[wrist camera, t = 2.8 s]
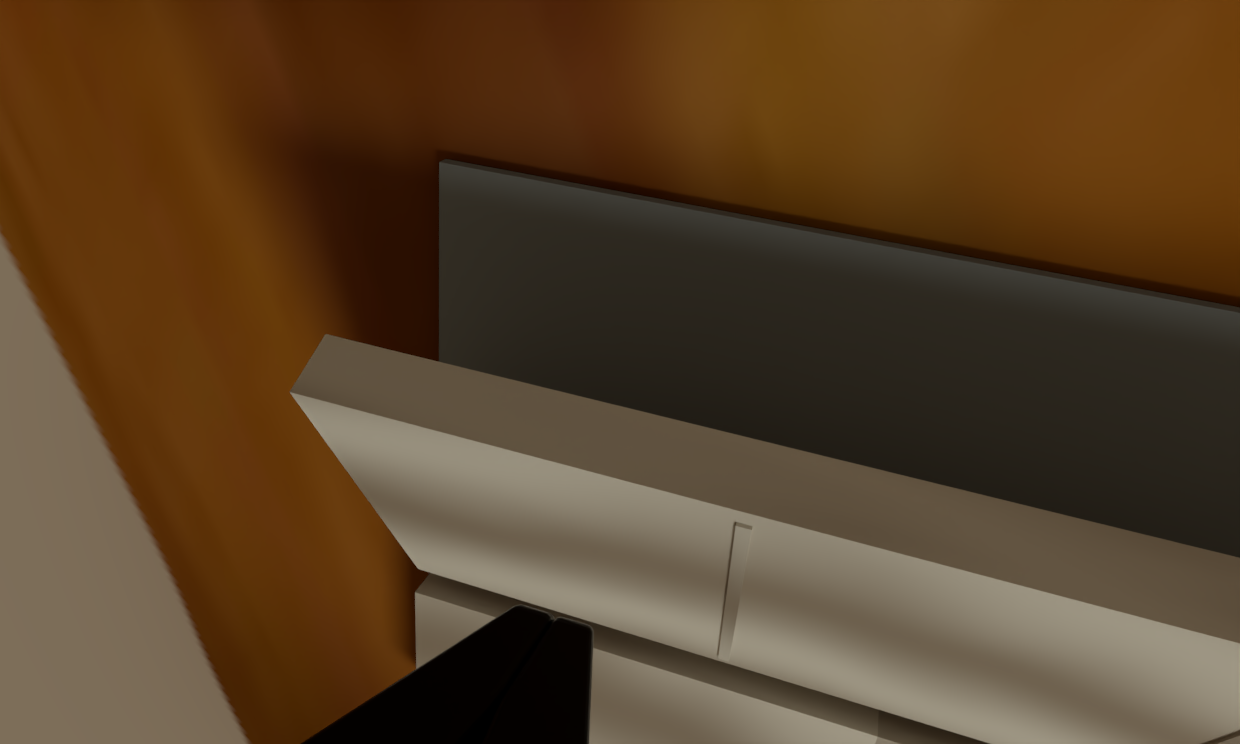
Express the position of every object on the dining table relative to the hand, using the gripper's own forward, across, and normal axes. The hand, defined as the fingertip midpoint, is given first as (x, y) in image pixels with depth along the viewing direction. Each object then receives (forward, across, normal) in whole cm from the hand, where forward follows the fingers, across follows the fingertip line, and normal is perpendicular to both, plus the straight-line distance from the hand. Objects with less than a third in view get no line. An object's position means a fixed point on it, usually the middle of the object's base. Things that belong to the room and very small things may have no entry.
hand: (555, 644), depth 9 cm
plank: (+7, -5, +3) cm, 9 cm away
